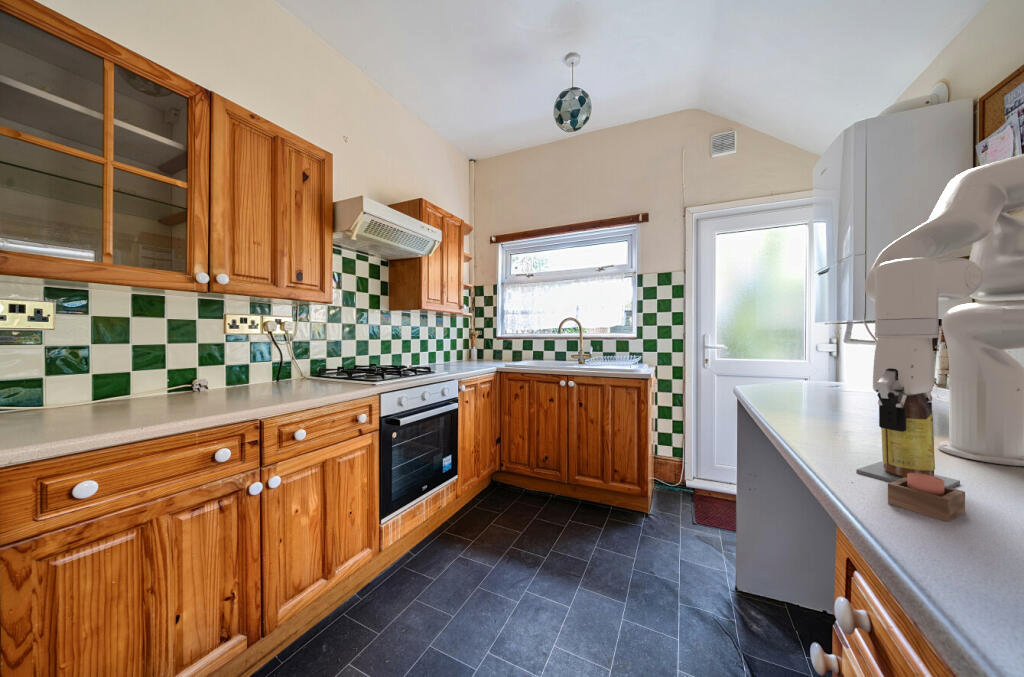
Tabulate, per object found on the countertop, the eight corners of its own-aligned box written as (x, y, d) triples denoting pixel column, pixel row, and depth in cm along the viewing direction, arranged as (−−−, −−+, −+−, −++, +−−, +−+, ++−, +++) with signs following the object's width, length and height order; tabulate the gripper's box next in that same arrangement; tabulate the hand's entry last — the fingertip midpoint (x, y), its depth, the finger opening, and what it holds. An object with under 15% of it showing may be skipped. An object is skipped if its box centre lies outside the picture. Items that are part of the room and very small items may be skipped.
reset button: (913, 486, 55) (913, 471, 55) (948, 496, 52) (948, 479, 52) (902, 491, 54) (902, 475, 54) (938, 501, 50) (938, 484, 50)
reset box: (906, 495, 57) (906, 476, 57) (965, 512, 51) (965, 491, 51) (887, 503, 54) (887, 483, 54) (947, 521, 49) (947, 500, 49)
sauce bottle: (946, 483, 59) (946, 364, 59) (902, 481, 61) (901, 364, 60) (910, 468, 66) (910, 361, 66) (871, 466, 67) (870, 361, 67)
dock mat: (880, 464, 70) (880, 461, 69) (960, 483, 60) (960, 480, 60) (856, 472, 66) (856, 469, 66) (937, 494, 57) (937, 490, 57)
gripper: (899, 329, 70) (899, 416, 70) (852, 330, 63) (852, 427, 63) (958, 328, 63) (958, 424, 63) (913, 330, 56) (913, 438, 56)
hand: (905, 426), depth 63 cm, fingers open, 9 cm apart
